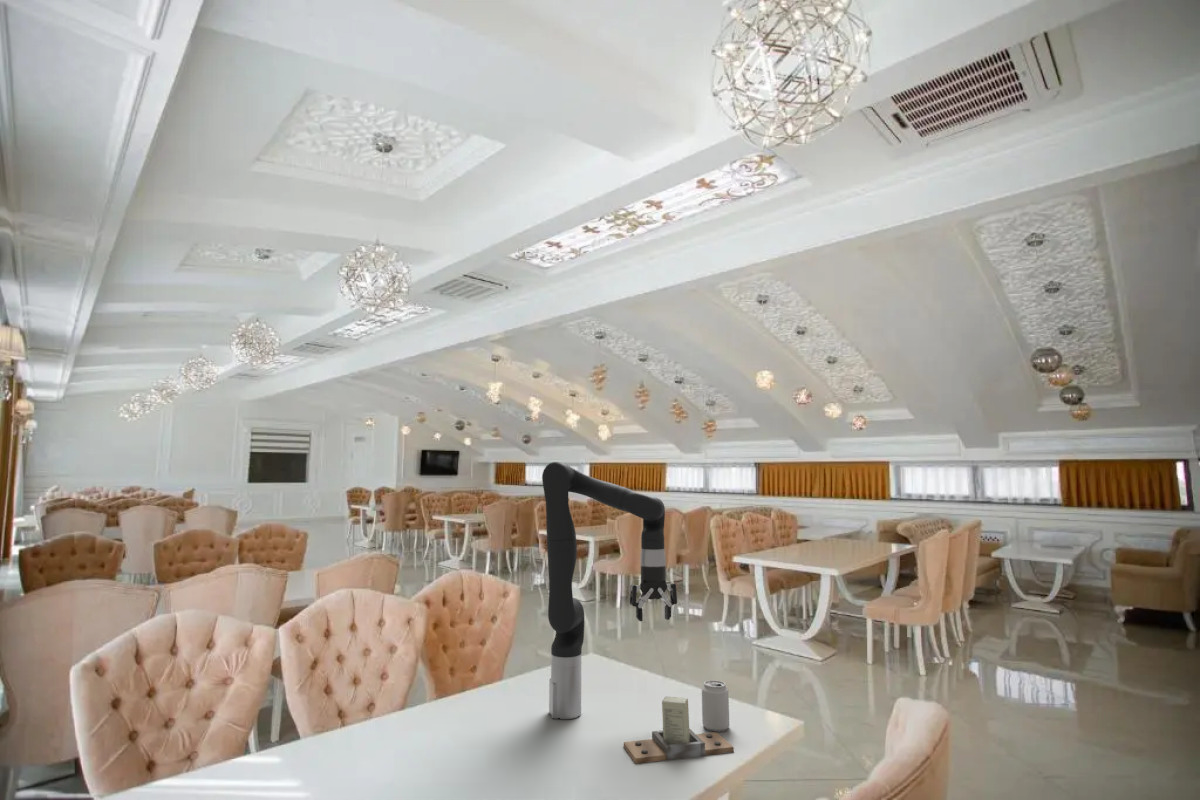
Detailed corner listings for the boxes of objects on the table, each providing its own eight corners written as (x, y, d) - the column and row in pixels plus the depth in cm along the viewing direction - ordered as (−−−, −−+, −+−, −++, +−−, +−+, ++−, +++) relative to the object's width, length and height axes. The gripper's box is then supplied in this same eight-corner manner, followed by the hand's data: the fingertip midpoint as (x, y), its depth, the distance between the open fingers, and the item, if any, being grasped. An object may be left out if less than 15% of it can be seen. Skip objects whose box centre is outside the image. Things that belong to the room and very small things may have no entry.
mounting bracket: (635, 764, 146) (635, 750, 146) (623, 746, 155) (623, 734, 156) (734, 752, 152) (733, 739, 153) (716, 736, 162) (715, 724, 163)
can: (729, 733, 164) (728, 687, 166) (702, 731, 165) (701, 685, 167) (729, 723, 171) (728, 679, 173) (703, 721, 173) (701, 677, 175)
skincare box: (690, 748, 155) (689, 697, 157) (687, 754, 151) (686, 703, 153) (666, 744, 157) (665, 695, 159) (662, 751, 153) (661, 700, 155)
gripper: (670, 562, 186) (671, 616, 183) (626, 563, 182) (627, 618, 179) (679, 564, 178) (680, 621, 176) (634, 566, 175) (635, 624, 172)
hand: (653, 620), depth 178 cm, fingers open, 8 cm apart
